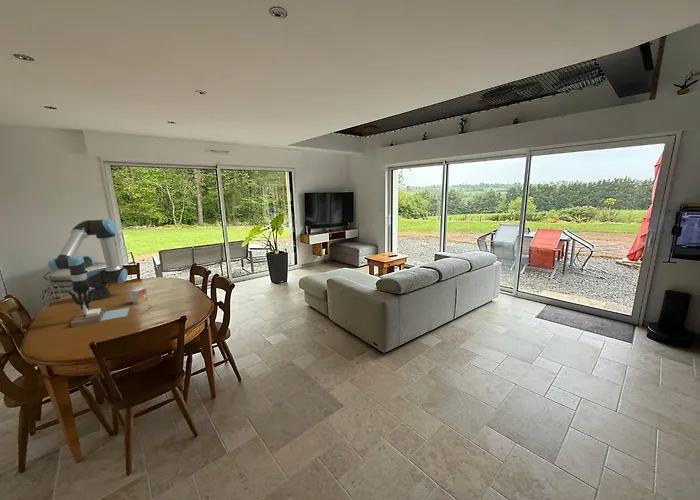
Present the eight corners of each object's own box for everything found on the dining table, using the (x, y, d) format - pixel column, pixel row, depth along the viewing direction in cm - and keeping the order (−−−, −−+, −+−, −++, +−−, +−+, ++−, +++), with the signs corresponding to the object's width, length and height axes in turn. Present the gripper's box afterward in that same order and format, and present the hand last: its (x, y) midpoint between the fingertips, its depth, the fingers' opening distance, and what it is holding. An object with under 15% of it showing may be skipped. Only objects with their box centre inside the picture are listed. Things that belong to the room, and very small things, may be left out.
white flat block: (89, 312, 196) (89, 309, 196) (100, 310, 200) (100, 308, 199) (86, 317, 189) (85, 314, 189) (98, 315, 192) (97, 312, 192)
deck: (80, 315, 199) (79, 311, 198) (106, 311, 206) (105, 307, 206) (71, 327, 181) (70, 323, 180) (99, 322, 188) (99, 318, 187)
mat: (105, 311, 205) (105, 311, 205) (129, 307, 212) (129, 307, 212) (100, 321, 190) (100, 320, 190) (126, 316, 197) (126, 315, 197)
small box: (138, 304, 219) (136, 291, 217) (133, 303, 220) (130, 290, 218) (148, 300, 227) (146, 287, 225) (142, 299, 228) (140, 287, 226)
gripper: (64, 283, 181) (71, 317, 186) (91, 279, 188) (97, 312, 192) (67, 280, 187) (74, 313, 192) (93, 277, 194) (99, 309, 198)
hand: (86, 313), depth 192 cm, fingers closed
